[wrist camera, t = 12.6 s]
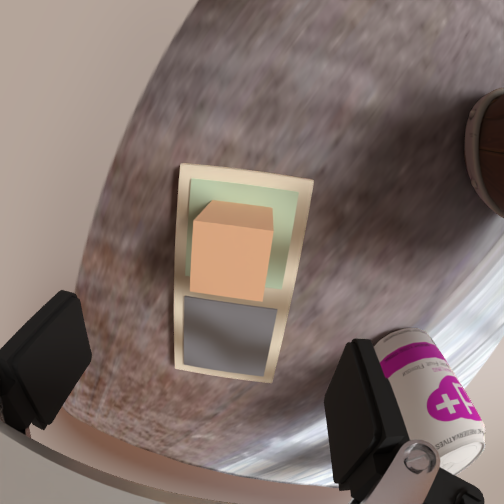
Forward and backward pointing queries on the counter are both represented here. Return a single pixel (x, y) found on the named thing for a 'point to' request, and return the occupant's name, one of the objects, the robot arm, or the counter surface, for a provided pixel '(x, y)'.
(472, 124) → the flowerpot
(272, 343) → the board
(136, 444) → the counter surface
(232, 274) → the block
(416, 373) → the supplement can
